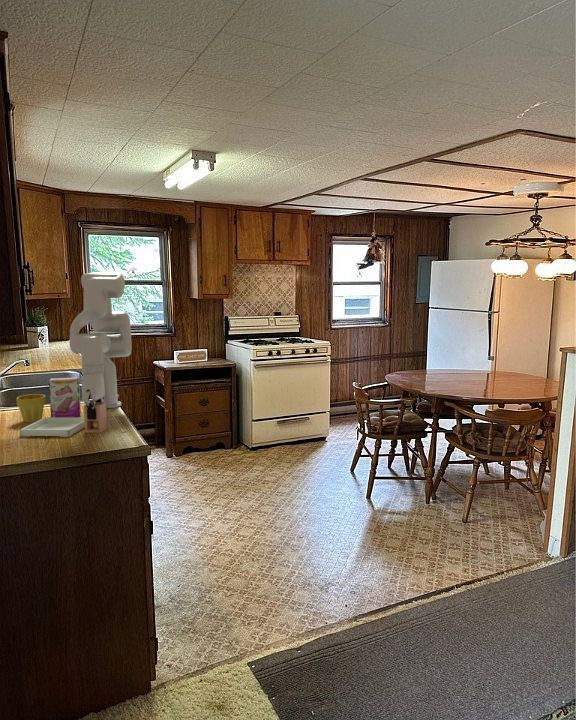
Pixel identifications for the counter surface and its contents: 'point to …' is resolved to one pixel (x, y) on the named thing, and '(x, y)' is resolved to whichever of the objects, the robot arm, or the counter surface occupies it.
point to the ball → (95, 424)
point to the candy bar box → (65, 397)
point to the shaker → (100, 417)
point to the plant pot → (31, 407)
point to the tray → (54, 427)
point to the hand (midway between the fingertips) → (95, 416)
